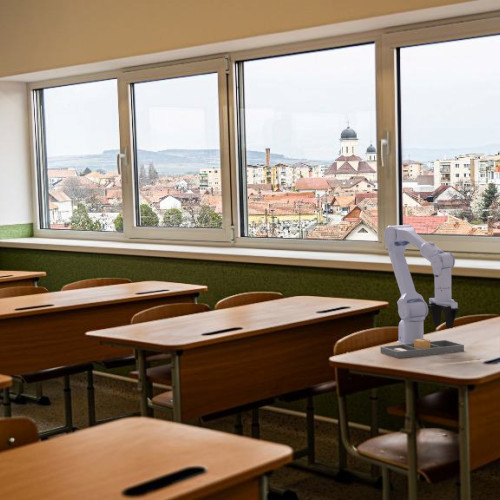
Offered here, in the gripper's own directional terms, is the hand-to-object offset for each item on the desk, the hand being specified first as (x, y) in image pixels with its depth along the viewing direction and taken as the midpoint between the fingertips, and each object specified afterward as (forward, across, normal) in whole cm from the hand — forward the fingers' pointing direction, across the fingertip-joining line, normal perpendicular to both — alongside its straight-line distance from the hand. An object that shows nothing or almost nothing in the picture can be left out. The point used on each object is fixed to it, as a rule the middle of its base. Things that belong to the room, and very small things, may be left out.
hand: (443, 326), depth 317 cm
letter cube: (+8, 0, +9) cm, 12 cm away
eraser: (+8, 0, +17) cm, 19 cm away
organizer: (+8, 0, +9) cm, 12 cm away
